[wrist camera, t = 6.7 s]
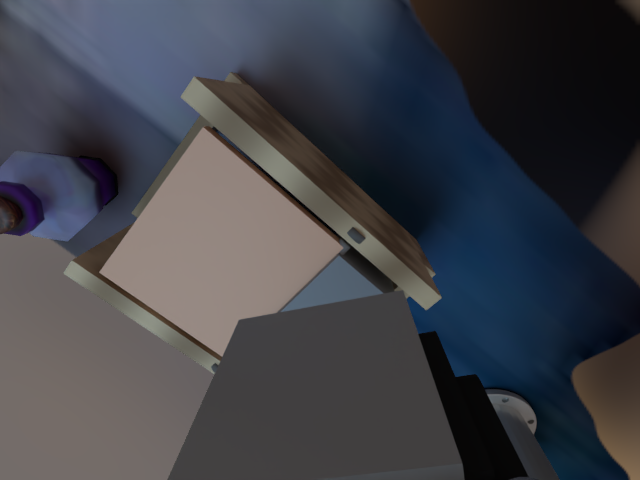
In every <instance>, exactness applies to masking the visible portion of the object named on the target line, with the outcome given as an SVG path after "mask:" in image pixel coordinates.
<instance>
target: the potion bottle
mask: <svg viewBox="0 0 640 480" xmlns="http://www.w3.org/2000/svg"><path fill="white" fill-rule="evenodd" d="M117 195H118V186H117V176H116V174H115V173H114V172H113V171H112V170H111V169H110V168H109V167H108V166H107V165H106V164H105V163H104V161H103V160H102V159H100V158H93V157H87V156H79V157H78V158H77V157H70V156H64V155H57V154H51V153H40V152H26V151H15V152H14V153H13V154H12V155H11V156H10V157H9V158H8V159H7V160H6V161H5V163H4V164H3V165H2V166H1V167H0V234H3V233H5V234H12V235H18V236H21V235H24V234H26V233H30V234H31V235H32V236H35V237H42V238H49V239H55V240H62V241H68V240H70V239H71V238H72V237H73V236H74V235H75V234H76V233H77V232H78V231H80V230H81V229H82V228H83V227H84V226H85V225H86V224H87V223H89V222H90V221H91V220H92V219H93V218H94V217H95V216H96V215H97V214H98V213H99V212H100V211H101V210H102V209H103V206H104V205H107V204H108V203H109V202H110V201H111V200H113V199H114V198H115V197H116V196H117Z"/></svg>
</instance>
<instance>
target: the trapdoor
mask: <svg viewBox="0 0 640 480" xmlns="http://www.w3.org/2000/svg"><path fill="white" fill-rule="evenodd" d="M99 273H101V274H102V275H103V276H105V277H106V278H108V279H109V280H111V281H112V282H114V283H115V284H117V285H118V286H120V287H121V288H122V289H124V290H125V291H127V292H128V293H130V294H131V295H133V296H134V297H136V298H137V299H139V300H140V301H141V302H143V303H144V304H146V305H147V306H149V307H150V308H152V309H153V310H155V311H156V312H158V313H159V314H160V315H162V316H163V317H165V318H166V319H168V320H169V321H171V322H172V323H174V324H175V325H176V326H178V327H179V328H181V329H182V330H184V331H185V332H187V333H188V334H190V335H191V336H193V337H194V338H195V339H197V340H198V341H200V342H201V343H203V344H204V345H206V346H207V347H209V348H210V349H212V350H213V351H214V352H216V353H217V354H219V355H220V356H223V354H224V352H225V350H226V348H227V345H228V343H229V341H230V339H231V336H232V334H233V332H234V330H235V327H236V325H237V323H238V321H239V320H240V319H245V318H251V317H256V316H262V315H268V314H273V313H279V312H284V311H290V310H295V309H301V308H306V307H312V306H317V305H323V304H329V303H334V302H340V301H345V300H351V299H356V298H362V297H367V296H373V295H379V294H384V293H390V292H395V291H394V288H393V284H392V281H391V279H390V278H389V277H387V276H386V275H385V274H384V273H383V272H382V271H381V270H379V269H378V268H377V267H376V266H375V265H374V264H372V263H371V262H370V261H369V260H368V259H367V258H366V257H364V256H363V255H362V254H361V253H360V252H359V251H357V250H356V249H355V248H354V247H353V246H352V245H351V244H349V243H348V242H347V241H346V240H345V239H344V238H342V237H341V236H340V235H338V236H336V235H335V234H333V233H332V232H331V231H330V230H329V229H328V228H327V227H325V226H324V225H323V224H322V223H321V222H320V221H318V220H317V219H316V218H315V217H314V216H313V215H311V214H310V213H309V212H308V211H307V210H306V209H305V208H303V207H302V206H301V205H300V204H299V203H298V202H296V201H295V200H294V199H293V198H292V197H291V196H289V195H288V194H287V193H286V192H285V191H284V190H283V189H281V188H280V187H279V186H278V185H277V184H276V183H274V182H273V181H272V180H271V179H270V178H269V177H267V176H266V175H265V174H264V173H263V172H262V171H261V170H259V169H258V168H257V167H256V166H255V165H254V164H252V163H251V162H250V161H249V160H248V159H247V158H245V157H244V156H243V155H242V154H241V153H240V152H238V151H237V150H236V149H235V148H234V147H233V146H232V145H230V144H229V143H228V142H227V141H226V140H225V139H223V138H222V137H221V136H220V135H219V134H218V133H216V132H215V131H214V130H213V129H212V128H211V127H210V126H205V127H203V128H202V129H201V130H200V132H199V133H198V135H197V136H196V137H195V139H194V140H193V142H192V143H191V144H190V146H189V147H188V149H187V150H186V151H185V153H184V154H183V156H182V157H181V158H180V160H179V161H178V163H177V164H176V165H175V167H174V168H173V170H172V171H171V172H170V174H169V175H168V177H167V178H166V179H165V181H164V182H163V184H162V185H161V186H160V188H159V189H158V191H157V192H156V193H155V195H154V196H153V198H152V199H151V200H150V202H149V203H148V205H147V206H146V207H145V209H144V210H143V212H142V213H141V214H140V216H139V217H138V219H137V220H136V221H135V223H134V224H133V226H132V227H131V228H130V230H129V231H128V233H127V234H126V235H125V237H124V238H123V240H122V241H121V242H120V244H119V245H118V247H117V248H116V249H115V251H114V252H113V254H112V255H111V256H110V258H109V259H108V261H107V262H106V263H105V265H104V266H103V268H102V269H101V270H100V272H99Z"/></svg>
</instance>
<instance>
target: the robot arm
mask: <svg viewBox="0 0 640 480" xmlns="http://www.w3.org/2000/svg"><path fill="white" fill-rule="evenodd" d="M418 335H419V338H420V341H421V344H422V347H423V350H424V353H425V356H426V359H427V361H428V364H429V367H430V370H431V373H432V376H433V379H434V382H435V385H436V388H437V391H438V394H439V397H440V399H441V402H442V405H443V408H444V411H445V414H446V417H447V420H448V423H449V426H450V429H451V432H452V435H453V437H454V440H455V443H456V446H457V449H458V452H459V455H460V458H461V461H462V464H463V472H464V480H559V478H558V476H557V474H556V473H555V471H554V469H553V468H552V466H551V464H550V462H549V461H548V459H547V457H546V456H545V454H544V452H543V450H542V449H541V447H540V445H539V444H538V442H537V440H536V438H535V437H534V433H535V430H536V425H537V420H536V415H535V413H534V411H533V409H532V408H531V406H530V405H529V404H528V402H527V401H526V400H525V399H523V398H522V397H521V396H519V395H517V394H515V393H512V392H509V391H505V390H499V389H486V390H485V389H484V387H483V385H482V383H481V381H480V379H479V378H478V376H477V375H476V374H474V375H467V376H460V377H455V375H454V373H453V371H452V368H451V366H450V363H449V361H448V359H447V356H446V354H445V352H444V349H443V347H442V344H441V342H440V340H439V337H438V335H437V333H436V331H433V332H427V333H421V334H418Z"/></svg>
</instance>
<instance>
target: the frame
mask: <svg viewBox="0 0 640 480" xmlns="http://www.w3.org/2000/svg"><path fill="white" fill-rule="evenodd" d="M181 98H182V99H183V100H184V101H186V102H187V103H188V104H189V105H190V106H191V107H192V108H194V109H195V110H196V111H197V112H198V113H199V114H201V115H200V116H199V118H198V119H197V121H196V122H195V123H194V125H193V126H192V128H191V129H190V131H189V132H188V133H187V135H186V136H185V138H184V139H183V141H182V142H181V143H180V145H179V146H178V148H177V149H176V151H175V152H174V153H173V155H172V156H171V158H170V159H169V161H168V162H167V163H166V165H165V166H164V168H163V169H162V170H161V172H160V173H159V175H158V176H157V178H156V179H155V180H154V182H153V183H152V185H151V186H150V188H149V189H148V190H147V192H146V193H145V195H144V196H143V198H142V199H141V200H140V202H139V203H138V205H137V206H136V208H135V209H134V210H133V212H132V214H133V215H134V216H136V217H137V218H138V217H139V216H140V214H141V213H142V212H143V210H144V209H145V207H146V206H147V205H148V203H149V202H150V200H151V199H152V198H153V196H154V195H155V193H156V192H157V191H158V189H159V188H160V186H161V185H162V184H163V182H164V181H165V179H166V178H167V177H168V175H169V174H170V172H171V171H172V170H173V168H174V167H175V165H176V164H177V163H178V161H179V160H180V158H181V157H182V156H183V154H184V153H185V151H186V150H187V149H188V147H189V146H190V144H191V143H192V142H193V140H194V139H195V137H196V136H197V135H198V133H199V132H200V130H201V129H202V128H203V127H205V126H210V127H211V128H212V129H213V130H214V131H216V130H217V129H218V130H219V131H220V132H221V133H222V134H224V135H225V136H226V137H227V138H228V139H229V140H231V141H232V142H233V143H234V144H235V145H236V146H237V147H239V148H240V149H241V150H242V151H243V152H244V153H246V154H247V155H248V156H249V157H250V158H251V159H252V160H254V161H255V162H256V163H257V164H258V165H259V166H261V167H262V168H263V169H264V170H265V171H266V172H267V173H269V174H270V175H271V176H272V177H273V178H274V179H276V180H277V181H278V182H279V183H280V184H281V185H282V186H284V187H285V188H286V189H287V190H288V191H289V192H291V193H292V194H293V195H294V196H295V197H296V198H297V199H299V200H300V201H301V202H302V203H303V204H304V205H306V206H307V207H308V208H309V209H310V210H311V211H312V212H314V213H315V214H316V215H317V216H318V217H319V218H321V219H322V220H323V221H324V222H325V223H326V224H327V225H329V226H330V227H331V228H332V229H333V230H334V231H336V232H337V233H338V234H339V235H340V236H341V237H342V238H344V239H345V240H346V241H347V242H348V243H349V244H351V245H352V246H353V247H354V248H355V249H356V250H357V251H359V252H360V253H361V254H362V255H363V256H364V257H366V258H367V259H368V260H369V261H370V262H371V263H372V264H374V265H375V266H376V267H377V268H378V269H379V270H381V271H382V272H383V273H384V274H385V275H386V276H387V277H389V278H390V279H391V281H392V284H393V288H394V291H401V290H403V291H404V294H405V297H406V299H407V298H408V297H409V296H411V297H412V298H413V299H414V300H415V301H416V302H417V303H419V304H420V305H421V306H422V307H423V308H424V309H426V310H427V309H428V308H430V307H431V306H432V305H433V304H435V303H436V302H437V301H439V300H440V299H441V298H442V297H441V295H440V293H439V291H438V289H437V287H436V285H435V283H434V282H433V280H432V277H433V276H434V275H436V274H435V272H434V271H433V269H432V267H431V265H430V263H429V262H428V260H427V258H426V256H425V254H424V253H423V251H422V249H421V247H420V245H419V244H418V242H417V240H416V239H415V238H414V237H413V236H412V235H410V234H409V233H408V232H407V231H406V230H405V229H404V228H403V227H402V226H401V225H400V224H399V223H398V222H396V221H395V220H394V219H393V218H392V217H391V216H390V215H389V214H388V213H387V212H386V211H385V210H383V209H382V208H381V207H380V206H379V205H378V204H377V203H376V202H375V201H374V200H373V199H372V198H371V197H369V196H368V195H367V194H366V193H365V192H364V191H363V190H362V189H361V188H360V187H359V186H358V185H356V184H355V183H354V182H353V181H352V180H351V179H350V178H349V177H348V176H347V175H346V174H345V173H344V172H342V171H341V170H340V169H339V168H338V167H337V166H336V165H335V164H334V163H333V162H332V161H331V160H330V159H328V158H327V157H326V156H325V155H324V154H323V153H322V152H321V151H320V150H319V149H318V148H317V147H315V146H314V145H313V144H312V143H311V142H310V141H309V140H308V139H307V138H306V137H305V136H304V135H303V134H301V133H300V132H299V131H298V130H297V129H296V128H295V127H294V126H293V125H292V124H291V123H290V122H288V121H287V120H286V119H285V118H284V117H283V116H282V115H281V114H280V113H279V112H278V111H277V110H276V109H274V108H273V107H272V106H271V105H270V104H269V103H268V102H267V101H266V100H265V99H264V98H263V97H261V96H260V95H259V94H258V93H257V92H256V91H255V90H254V89H253V88H252V87H251V86H250V85H249V84H247V83H246V82H245V81H244V80H243V79H242V78H241V77H240V76H239V75H238V74H236V73H232V72H230V74H229V75H228V76H227V78H226V79H225V81H219V80H213V79H207V78H200V77H193V79H192V80H191V82H190V83H189V85H188V86H187V88H186V89H185V91H184V92H183V94H182V95H181ZM134 223H135V222H134ZM134 223H133V224H134ZM133 224H131V225H129V226H128V227H126V228H125V229H123V230H121V231H120V232H118V233H116V234H115V235H113V236H111V237H110V238H108V239H106V240H105V241H103V242H101V243H100V244H98V245H96V246H95V247H93V248H92V249H90V250H88V251H87V252H85V253H83V254H82V255H80V256H78V257H77V258H75V259H74V260H72V261H71V263H70V264H69V266H68V267H67V269H66V270H65V272H64V274H65V275H67V276H68V277H69V278H71V279H73V280H74V281H76V282H77V283H79V284H80V285H81V286H83V287H85V288H86V289H88V290H89V291H91V292H92V293H94V294H95V295H97V296H98V297H99V298H101V299H102V300H104V301H105V302H107V303H109V304H110V305H111V306H113V307H114V308H116V309H118V310H119V311H120V312H122V313H123V314H125V315H127V316H128V317H130V318H131V319H133V320H134V321H135V322H137V323H139V324H140V325H141V326H143V327H145V328H146V329H148V330H149V331H151V332H152V333H154V334H155V335H156V336H158V337H160V338H161V339H163V340H164V341H165V342H167V343H168V344H170V345H171V346H173V347H174V348H176V349H178V350H179V351H180V352H182V353H183V354H185V355H187V356H188V357H190V358H191V359H193V360H194V361H195V362H197V363H198V364H200V365H201V366H203V367H205V368H206V369H208V370H209V371H210V372H212V373H214V374H215V372H216V370H217V368H218V365H219V363H220V361H221V359H222V356H220V355H219V354H217V353H216V352H214V351H213V350H212V349H210V348H209V347H207V346H206V345H204V344H203V343H201V342H200V341H198V340H197V339H195V338H194V337H193V336H191V335H190V334H188V333H187V332H185V331H184V330H182V329H181V328H179V327H178V326H176V325H175V324H174V323H172V322H171V321H169V320H168V319H166V318H165V317H163V316H162V315H160V314H159V313H158V312H156V311H155V310H153V309H152V308H150V307H149V306H147V305H146V304H144V303H143V302H141V301H140V300H139V299H137V298H136V297H134V296H133V295H131V294H130V293H128V292H127V291H125V290H124V289H122V288H121V287H120V286H118V285H117V284H115V283H114V282H112V281H111V280H109V279H108V278H106V277H105V276H103V275H102V274H101V273H99V272H100V270H101V269H102V268H103V266H104V265H105V263H106V262H107V261H108V259H109V258H110V256H111V255H112V254H113V252H114V251H115V249H116V248H117V247H118V245H119V244H120V242H121V241H122V240H123V238H124V237H125V235H126V234H127V233H128V231H129V230H130V228H131V227H132V226H133Z"/></svg>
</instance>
